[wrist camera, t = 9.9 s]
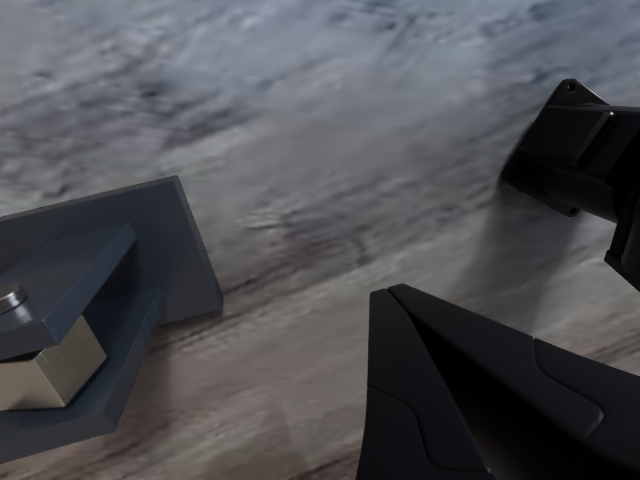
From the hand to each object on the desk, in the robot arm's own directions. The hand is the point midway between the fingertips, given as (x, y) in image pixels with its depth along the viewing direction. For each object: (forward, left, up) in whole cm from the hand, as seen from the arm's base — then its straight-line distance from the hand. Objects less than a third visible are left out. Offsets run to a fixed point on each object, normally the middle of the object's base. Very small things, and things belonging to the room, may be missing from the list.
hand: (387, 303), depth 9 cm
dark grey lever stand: (+8, +9, -13) cm, 18 cm away
